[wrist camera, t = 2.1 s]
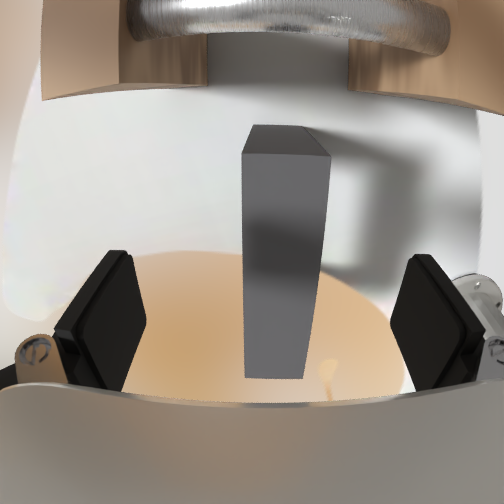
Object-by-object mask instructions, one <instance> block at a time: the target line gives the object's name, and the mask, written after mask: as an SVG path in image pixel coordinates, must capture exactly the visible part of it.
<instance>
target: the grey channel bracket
mask: <svg viewBox="0 0 504 504" xmlns="http://www.w3.org/2000/svg"><path fill="white" fill-rule="evenodd" d="M330 167H331V156H330V155H329V154H328V153H327V152H326V150H325V149H324V148H323V147H322V146H321V145H320V144H319V143H318V142H317V141H316V140H315V139H314V138H313V137H312V136H311V135H310V134H309V133H308V132H307V131H306V130H305V129H304V128H303V127H302V126H288V125H253V126H252V129H251V131H250V134H249V136H248V139H247V141H246V144H245V146H244V149H243V151H242V251H243V311H244V313H243V315H244V365H245V378H262V379H263V378H264V379H303V373H304V369H305V362H306V357H307V352H308V346H309V340H310V334H311V327H312V321H313V314H314V308H315V302H316V295H317V287H318V280H319V273H320V265H321V257H322V249H323V240H324V231H325V222H326V212H327V202H328V191H329V179H330Z"/></svg>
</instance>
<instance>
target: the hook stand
mask: <svg viewBox="0 0 504 504" xmlns="http://www.w3.org/2000/svg"><path fill="white" fill-rule="evenodd" d="M224 32H288V33H305V34H317V35H327V36H336V37H344V38H349V66H348V90H352V91H360V92H367V93H374V94H381V95H388V96H398V97H406V98H414V99H421V100H428V101H435V102H441V103H447V104H452V105H458V106H463V107H468V108H473V109H477V110H482V111H486V112H490V113H495V114H498V115H502V116H504V0H43V11H42V25H41V93H42V101H44V100H50V99H56V98H63V97H69V96H77V95H84V94H93V93H102V92H113V91H126V90H142V89H168V88H180V87H193V86H208V81H207V33H224Z"/></svg>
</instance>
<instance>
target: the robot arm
mask: <svg viewBox="0 0 504 504" xmlns="http://www.w3.org/2000/svg"><path fill="white" fill-rule="evenodd" d="M502 301H503V299H502V293H501V291H500V289H499V287H498V286H497V284H496V283H495V282H494V281H493V280H492V279H490V278H489V277H486V276H483V275H468V276H464V277H461V278H458V279H456V280H454V281H451V280H450V279H449V277H448V276H447V275H446V273H445V272H444V271H443V270H442V268H441V267H440V266H439V265H438V263H437V262H436V261H435V260H434V258H433V257H432V256H431V255H430V254H415V255H414V256H413V257H412V258H410V259H409V260H408V263H407V267H406V270H405V274H404V277H403V281H402V284H401V287H400V291H399V294H398V297H397V300H396V304H395V307H394V310H393V313H392V316H391V319H390V326H391V329H392V332H393V334H394V336H395V339H396V341H397V344H398V346H399V348H400V351H401V353H402V356H403V358H404V361H405V363H406V366H407V368H408V371H409V374H410V376H411V379H412V381H413V384H414V387H415V389H416V392H412V393H405V394H398V395H391V396H382V397H374V398H363V399H352V400H341V401H340V400H339V401H324V402H302V403H238V402H215V401H199V400H185V399H175V398H165V397H156V396H147V395H140V394H132V393H125V392H121V390H122V388H123V385H124V382H125V379H126V377H127V374H128V371H129V368H130V366H131V363H132V360H133V358H134V354H135V352H136V350H137V347H138V345H139V342H140V339H141V337H142V334H143V331H144V329H145V326H146V314H145V310H144V306H143V302H142V298H141V293H140V289H139V285H138V280H137V276H136V272H135V267H134V262H133V258H132V256H131V255H128V253H127V252H126V251H125V250H109V251H108V252H107V254H106V255H105V256H104V258H103V259H102V260H101V262H100V263H99V264H98V266H97V267H96V268H95V270H94V271H93V272H92V274H91V275H90V276H89V278H88V279H87V281H86V282H85V283H84V285H83V286H82V288H81V289H80V290H79V292H78V293H77V295H76V296H75V297H74V299H73V300H72V302H71V303H70V305H69V306H68V308H67V309H66V311H65V312H64V314H63V315H62V317H61V318H60V320H59V321H58V323H57V324H56V326H55V328H54V330H55V333H54V334H53V336H52V337H51V336H49V335H46V334H36V335H33V336H30V337H29V338H27V339H26V340H24V341H23V342H22V343H21V344H20V345H19V347H18V348H17V350H16V352H15V364H12V365H10V366H8V367H6V368H4V369H2V370H0V504H504V316H503V315H502V313H501V310H502Z"/></svg>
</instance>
